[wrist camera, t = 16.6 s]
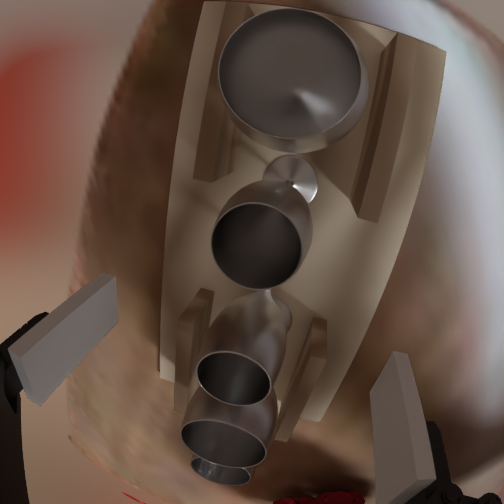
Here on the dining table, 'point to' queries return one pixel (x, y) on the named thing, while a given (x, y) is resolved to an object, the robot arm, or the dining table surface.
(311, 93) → the goblet set
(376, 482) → the robot arm
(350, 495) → the bouquet
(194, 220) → the glass rack
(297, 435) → the dining table surface
